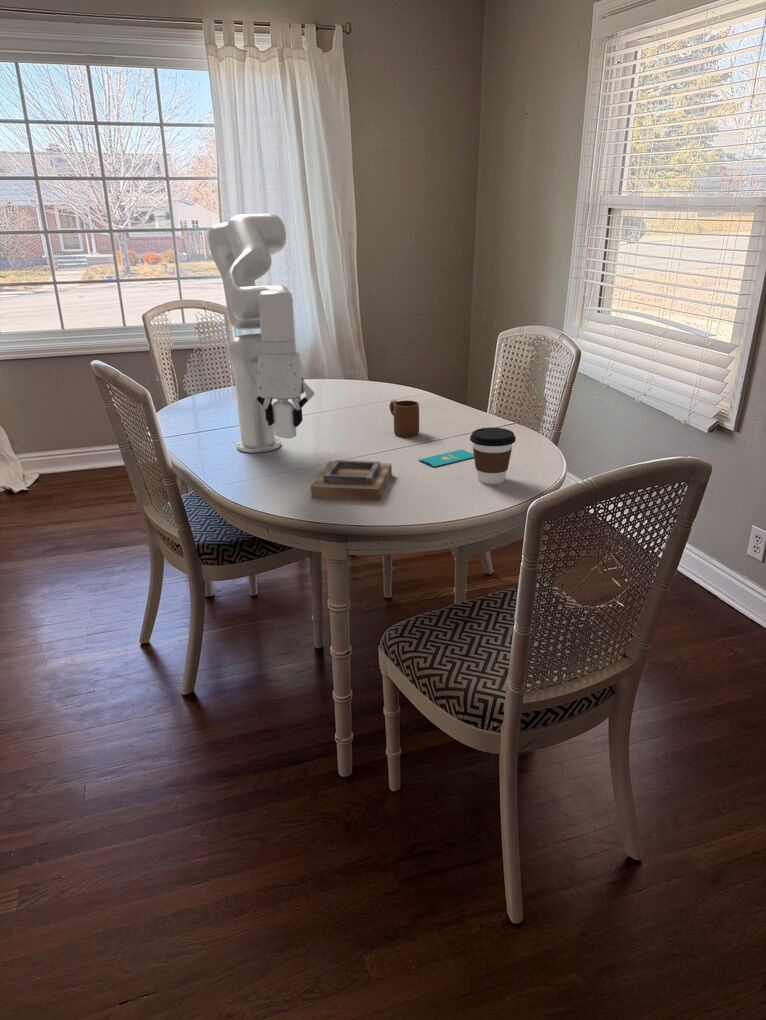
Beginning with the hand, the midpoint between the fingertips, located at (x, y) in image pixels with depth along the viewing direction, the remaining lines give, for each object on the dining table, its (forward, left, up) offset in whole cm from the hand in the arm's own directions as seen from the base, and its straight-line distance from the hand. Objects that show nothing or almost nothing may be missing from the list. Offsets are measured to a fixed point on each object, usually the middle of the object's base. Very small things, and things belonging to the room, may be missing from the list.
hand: (284, 423), depth 166 cm
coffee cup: (-10, +48, -16) cm, 52 cm away
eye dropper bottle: (0, 0, -3) cm, 3 cm away
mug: (-48, +20, -16) cm, 55 cm away
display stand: (-2, +15, -16) cm, 22 cm away
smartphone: (-25, +36, -17) cm, 47 cm away
